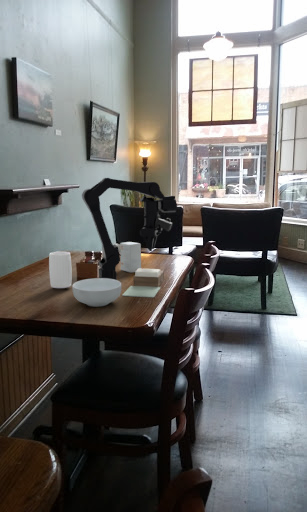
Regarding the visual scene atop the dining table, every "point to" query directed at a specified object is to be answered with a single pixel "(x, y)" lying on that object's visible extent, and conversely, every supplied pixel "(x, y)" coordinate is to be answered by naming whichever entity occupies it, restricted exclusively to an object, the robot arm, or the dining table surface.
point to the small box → (130, 256)
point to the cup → (60, 269)
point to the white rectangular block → (147, 272)
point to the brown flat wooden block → (149, 280)
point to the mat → (141, 291)
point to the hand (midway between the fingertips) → (151, 249)
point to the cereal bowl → (96, 291)
